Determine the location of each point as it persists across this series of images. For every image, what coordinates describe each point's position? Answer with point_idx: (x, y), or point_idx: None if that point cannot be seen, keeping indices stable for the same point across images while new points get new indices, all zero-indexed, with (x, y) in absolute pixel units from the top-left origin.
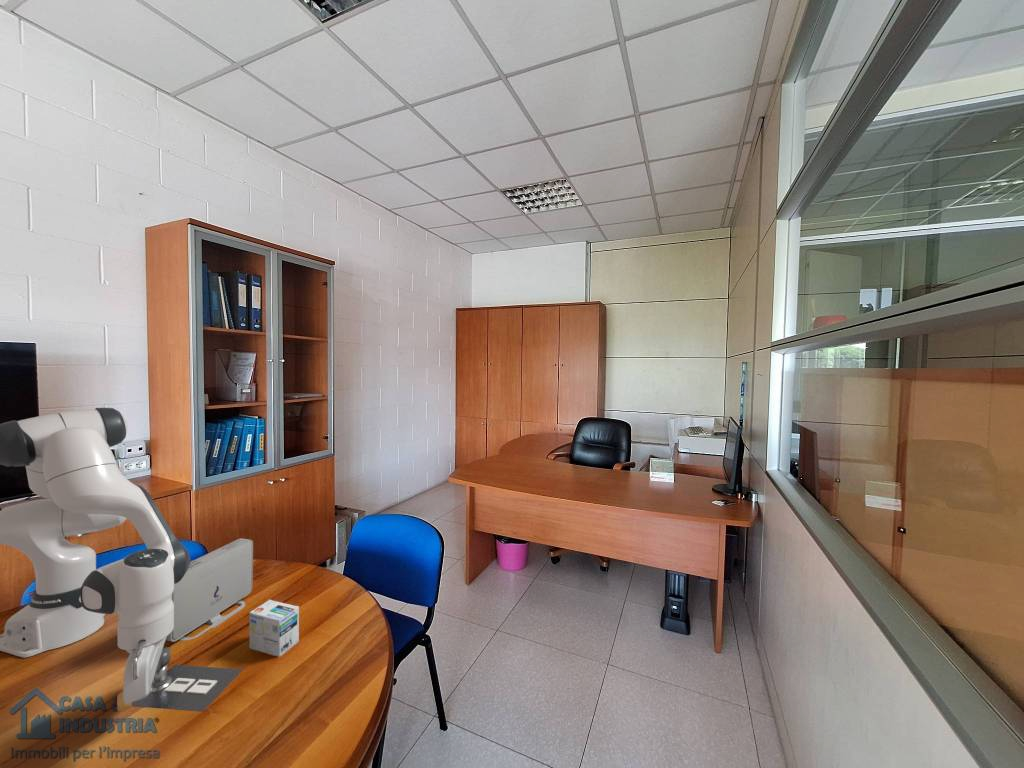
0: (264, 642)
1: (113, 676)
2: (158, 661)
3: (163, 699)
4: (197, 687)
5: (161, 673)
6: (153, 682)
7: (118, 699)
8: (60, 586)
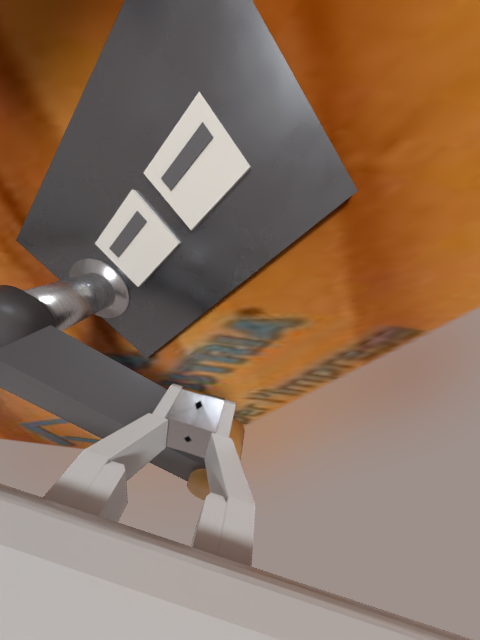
0: None
1: None
2: (96, 578)
3: (179, 292)
4: (191, 189)
5: (74, 305)
6: (175, 390)
7: None
8: None
